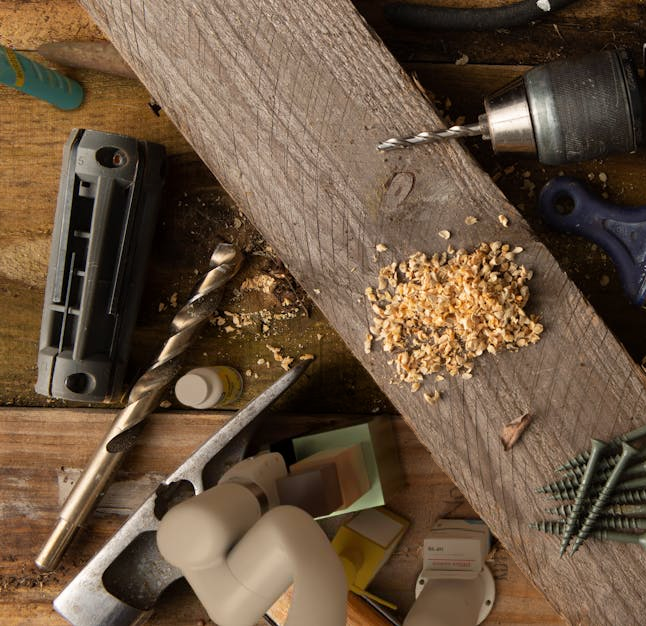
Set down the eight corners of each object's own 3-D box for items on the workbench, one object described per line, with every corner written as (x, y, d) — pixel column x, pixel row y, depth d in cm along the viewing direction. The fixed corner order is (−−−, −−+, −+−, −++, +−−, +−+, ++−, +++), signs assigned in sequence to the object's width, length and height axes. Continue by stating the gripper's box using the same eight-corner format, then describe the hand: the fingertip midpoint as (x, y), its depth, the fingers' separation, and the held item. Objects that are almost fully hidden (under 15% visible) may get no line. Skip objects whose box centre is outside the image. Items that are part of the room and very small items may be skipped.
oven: (337, 501, 127) (309, 521, 114) (321, 427, 127) (292, 439, 114) (405, 486, 127) (385, 504, 114) (389, 412, 127) (367, 423, 114)
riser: (371, 489, 114) (346, 509, 102) (330, 499, 114) (300, 519, 102) (360, 442, 114) (335, 456, 102) (319, 451, 114) (289, 466, 102)
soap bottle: (417, 579, 127) (379, 637, 103) (348, 539, 127) (295, 589, 103) (439, 539, 127) (407, 588, 103) (370, 500, 127) (323, 540, 103)
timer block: (343, 504, 102) (330, 515, 96) (300, 514, 102) (284, 525, 96) (334, 461, 102) (320, 470, 96) (291, 471, 102) (274, 479, 96)
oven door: (306, 506, 127) (255, 531, 115) (290, 433, 127) (237, 450, 115) (334, 501, 126) (286, 526, 114) (319, 428, 126) (269, 444, 114)
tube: (94, 106, 126) (7, 67, 107) (67, 122, 126) (-25, 86, 107) (69, 66, 126) (-22, 20, 107) (43, 82, 126) (-54, 39, 107)
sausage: (133, 51, 119) (154, 34, 124) (16, 34, 119) (41, 18, 124) (145, 89, 124) (165, 71, 128) (32, 73, 124) (56, 56, 128)
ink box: (491, 519, 127) (479, 545, 112) (490, 550, 127) (478, 580, 112) (437, 518, 127) (419, 544, 112) (437, 549, 127) (418, 579, 112)
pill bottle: (240, 407, 126) (207, 415, 115) (201, 399, 126) (165, 407, 115) (248, 369, 126) (216, 373, 115) (209, 361, 126) (174, 365, 115)
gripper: (279, 563, 96) (326, 524, 115) (253, 443, 96) (304, 423, 115) (217, 577, 96) (274, 535, 114) (191, 457, 96) (252, 434, 114)
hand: (289, 479), depth 114 cm, fingers closed
